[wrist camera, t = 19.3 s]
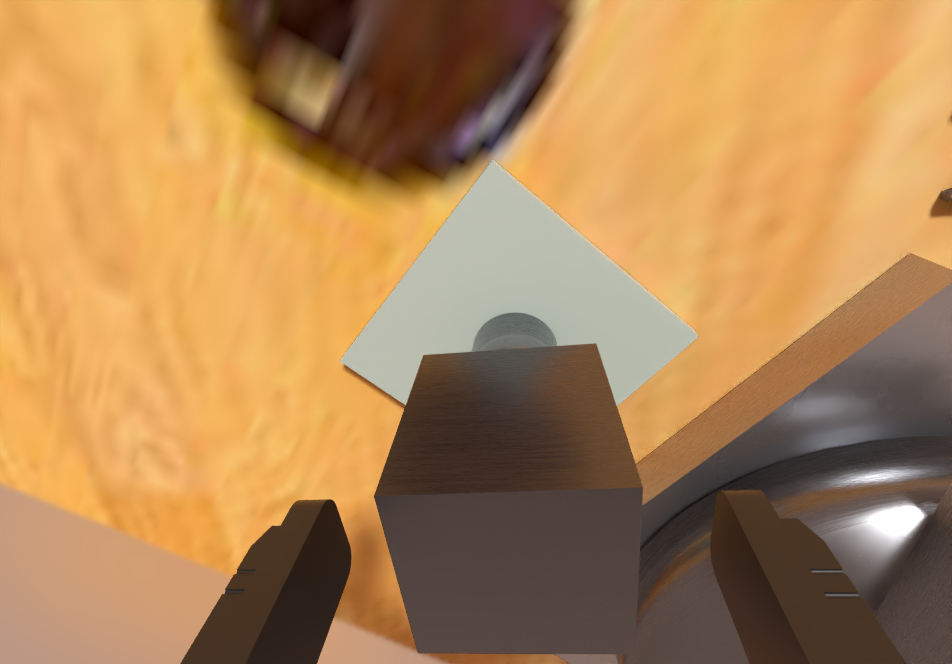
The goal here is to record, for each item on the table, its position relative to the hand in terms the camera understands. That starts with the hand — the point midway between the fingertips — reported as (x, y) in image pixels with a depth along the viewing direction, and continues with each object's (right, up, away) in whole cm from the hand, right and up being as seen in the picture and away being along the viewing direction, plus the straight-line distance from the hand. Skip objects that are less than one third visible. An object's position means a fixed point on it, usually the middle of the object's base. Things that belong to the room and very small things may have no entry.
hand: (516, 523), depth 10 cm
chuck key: (+1, +3, +7) cm, 8 cm away
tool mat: (0, +4, +7) cm, 8 cm away
